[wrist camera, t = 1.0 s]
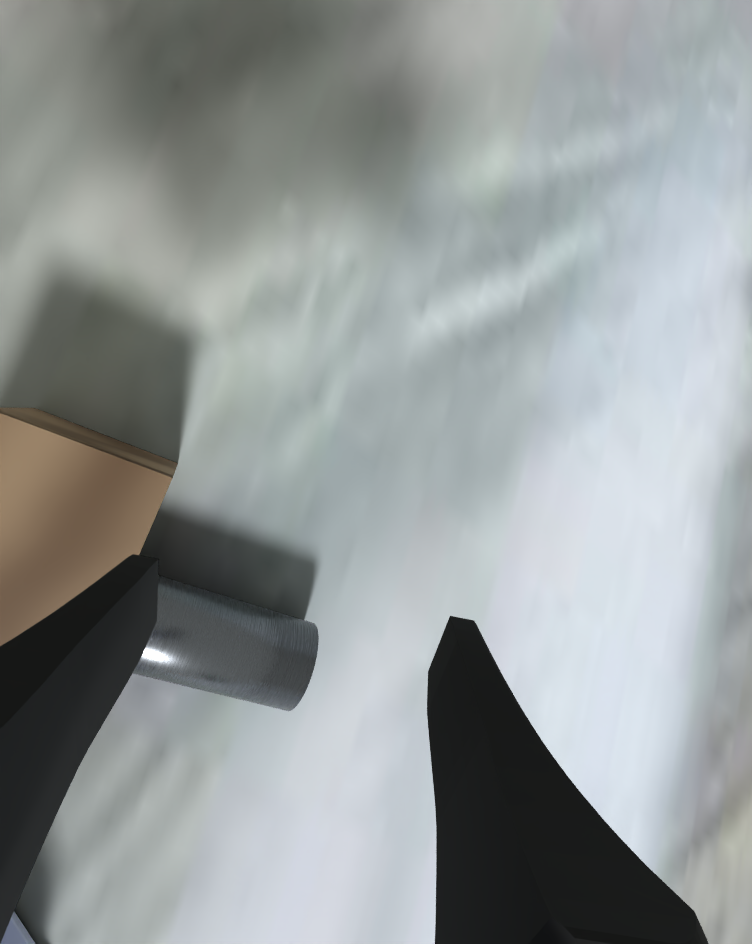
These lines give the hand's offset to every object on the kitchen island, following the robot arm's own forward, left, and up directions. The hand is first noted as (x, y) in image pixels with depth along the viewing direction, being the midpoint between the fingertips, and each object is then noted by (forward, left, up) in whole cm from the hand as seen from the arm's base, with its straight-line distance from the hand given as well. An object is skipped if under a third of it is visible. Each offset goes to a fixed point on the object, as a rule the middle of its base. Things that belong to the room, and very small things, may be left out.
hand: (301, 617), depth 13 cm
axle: (-2, +6, -11) cm, 13 cm away
